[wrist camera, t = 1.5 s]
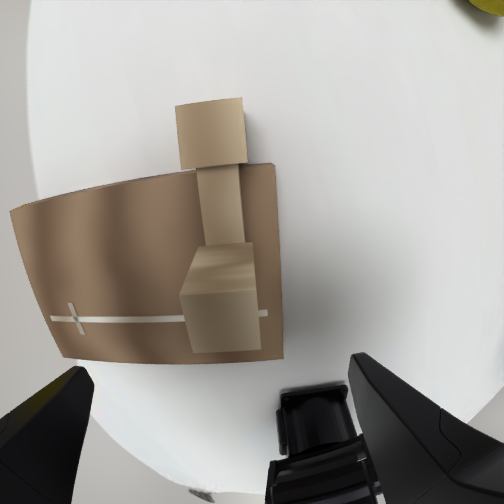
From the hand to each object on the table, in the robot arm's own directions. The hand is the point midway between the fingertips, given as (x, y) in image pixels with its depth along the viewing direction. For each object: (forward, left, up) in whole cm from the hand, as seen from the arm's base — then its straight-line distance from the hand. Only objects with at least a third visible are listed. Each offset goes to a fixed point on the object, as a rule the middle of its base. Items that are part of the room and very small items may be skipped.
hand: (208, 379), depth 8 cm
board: (+7, +2, -12) cm, 14 cm away
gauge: (0, +4, -10) cm, 10 cm away
